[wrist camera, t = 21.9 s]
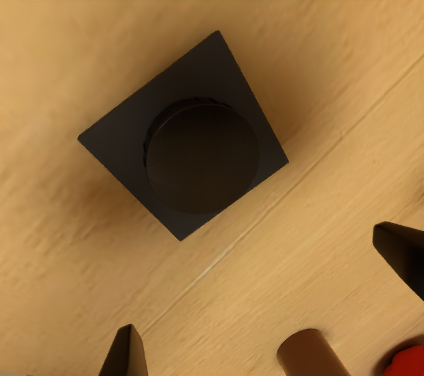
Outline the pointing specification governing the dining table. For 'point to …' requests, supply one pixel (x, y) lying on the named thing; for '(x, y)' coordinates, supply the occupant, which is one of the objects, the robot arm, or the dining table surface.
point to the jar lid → (200, 155)
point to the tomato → (407, 363)
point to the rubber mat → (158, 100)
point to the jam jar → (309, 356)
